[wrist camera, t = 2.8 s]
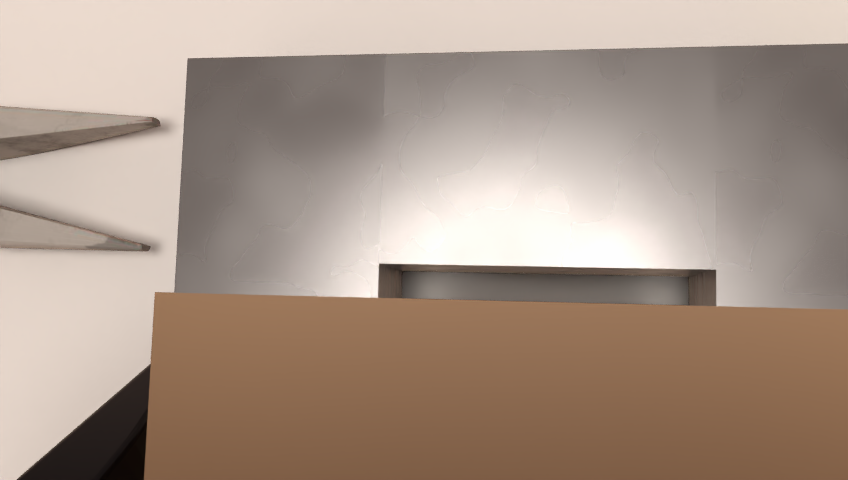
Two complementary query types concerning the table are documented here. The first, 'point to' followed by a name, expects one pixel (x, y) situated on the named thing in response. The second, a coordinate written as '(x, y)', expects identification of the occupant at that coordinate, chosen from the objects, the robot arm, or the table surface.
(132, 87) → the table surface
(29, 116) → the pliers
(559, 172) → the post plate
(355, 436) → the walnut peg
